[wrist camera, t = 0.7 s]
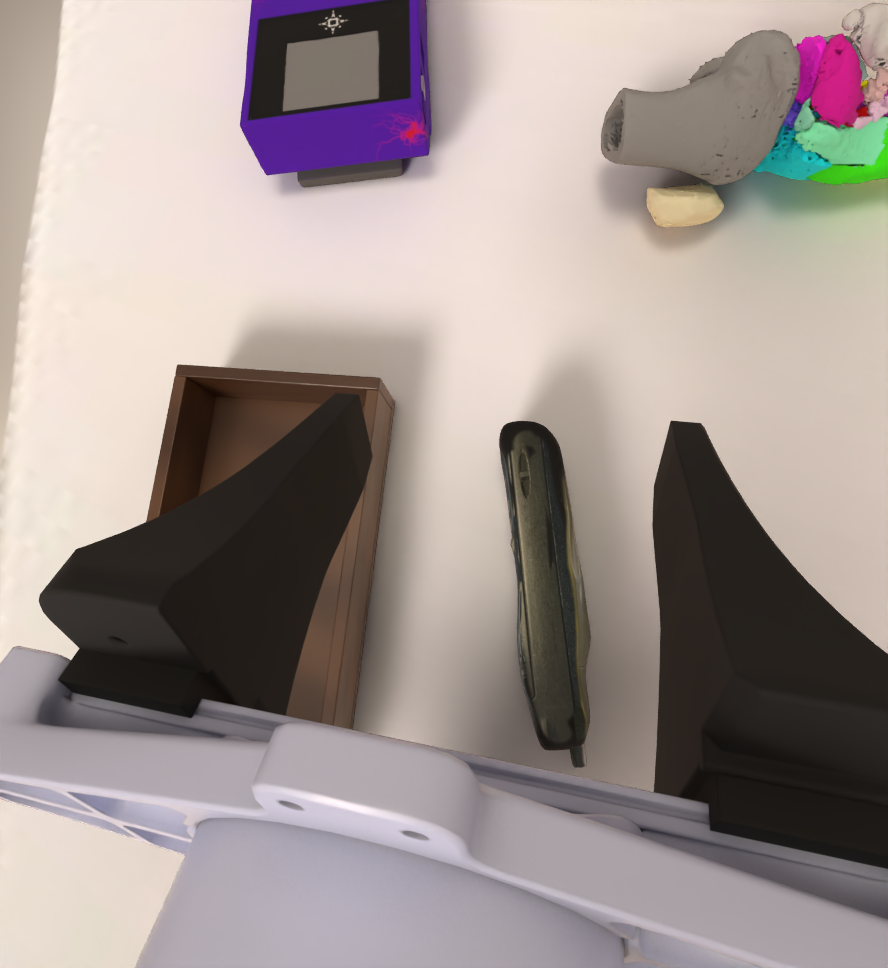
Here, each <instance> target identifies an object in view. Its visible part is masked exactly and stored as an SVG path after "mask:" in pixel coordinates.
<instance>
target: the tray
mask: <svg viewBox="0 0 888 968" xmlns="http://www.w3.org/2000/svg"><path fill="white" fill-rule="evenodd" d="M175 375H176V376H175V378H174V383H173V388H172V393H171V399H170V404H169V409H168V414H167V419H166V424H165V429H164V434H163V439H162V445H161V450H160V455H159V460H158V465H157V470H156V475H155V480H154V485H153V491H152V496H151V501H150V506H149V511H148V516H147V521H146V522H148V521H150V520H153V519H155V518H157V517H159V516H161V515H163V514H165V513H167V512H169V511H171V510H173V509H175V508H177V507H179V506H181V505H183V504H185V503H186V502H188V501H190V500H192V499H194V498H196V497H197V496H199V495H201V494H203V493H205V492H207V491H208V490H210V489H212V488H213V487H215V486H216V485H218V484H220V483H221V482H223V481H224V480H226V479H228V478H229V477H231V476H232V475H234V474H235V473H237V472H238V471H240V470H241V469H242V468H244V467H245V466H247V465H248V464H249V463H251V462H252V461H253V460H255V459H256V458H257V457H259V456H260V455H261V454H263V453H264V452H265V451H267V450H268V449H269V448H270V447H272V446H273V445H274V444H276V443H277V442H278V441H279V440H281V439H282V438H283V437H284V436H285V435H287V434H288V433H289V432H290V431H291V430H293V429H294V428H295V427H296V426H297V425H299V424H300V423H301V422H302V421H303V420H304V419H306V418H307V417H308V416H309V415H310V414H311V413H313V412H314V411H315V410H316V409H317V408H318V407H319V406H321V405H322V404H323V403H324V402H325V401H327V400H328V399H329V398H330V397H331V396H333V395H334V394H335V393H344V394H356V395H359V396H360V400H361V405H362V409H363V414H364V418H365V423H366V427H367V432H368V436H369V441H370V445H371V450H372V454H373V458H372V461H371V465H370V469H369V472H368V476H367V479H366V482H365V485H364V489H363V492H362V494H361V496H360V499H359V501H358V503H357V505H356V508H355V510H354V512H353V514H352V516H351V519H350V521H349V523H348V525H347V527H346V530H345V532H344V534H343V536H342V538H341V540H340V543H339V545H338V547H337V549H336V551H335V554H334V556H333V558H332V560H331V562H330V565H329V567H328V570H327V572H326V575H325V577H324V580H323V583H322V586H321V589H320V592H319V596H318V599H317V602H316V605H315V608H314V611H313V614H312V618H311V621H310V624H309V628H308V631H307V634H306V638H305V641H304V645H303V648H302V652H301V656H300V660H299V663H298V667H297V671H296V674H295V678H294V682H293V686H292V691H291V695H290V699H289V703H288V708H287V712H286V716H289V717H294V718H298V719H303V720H308V721H313V722H318V723H322V724H327V725H332V726H337V727H342V728H347V729H351V730H352V729H353V721H354V713H355V706H356V698H357V690H358V682H359V675H360V667H361V659H362V652H363V644H364V636H365V628H366V621H367V613H368V605H369V598H370V590H371V582H372V574H373V567H374V559H375V551H376V544H377V536H378V528H379V520H380V513H381V505H382V497H383V490H384V482H385V474H386V466H387V459H388V451H389V443H390V436H391V428H392V420H393V412H394V405H395V401H394V399H393V398H392V396H391V395H390V393H389V391H388V390H387V388H386V387H385V385H384V383H383V382H382V380H381V379H380V378H375V377H360V376H345V375H330V374H315V373H299V372H284V371H269V370H254V369H239V368H224V367H208V366H193V365H177V369H176V374H175Z"/></svg>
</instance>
